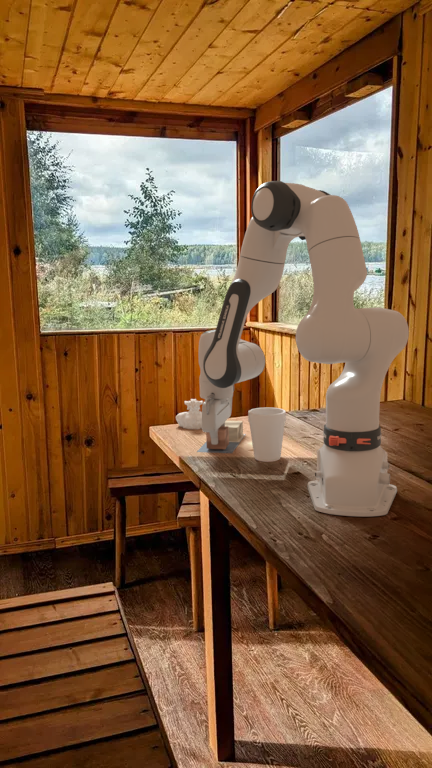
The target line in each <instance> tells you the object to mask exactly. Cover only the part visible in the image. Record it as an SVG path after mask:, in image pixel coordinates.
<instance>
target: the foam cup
mask: <svg viewBox="0 0 432 768" xmlns="http://www.w3.org/2000/svg"><path fill="white" fill-rule="evenodd" d="M247 413H248V414H247V417H248V418H247V419H248V423H249V429H250V431H249V432H250V436H251V443H252V449H253V455H254V459H255V460H256V461H259V462H268V463H271V462H276V461H278V460H280V459H282V458H281V457H282V448H283V440H284V432H285V423H286V417H287V416H286V410H285V409H283V408H279V407H256V408H251V409H249V410H248V412H247Z"/></svg>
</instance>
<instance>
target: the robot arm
mask: <svg viewBox="0 0 432 768" xmlns="http://www.w3.org/2000/svg"><path fill="white" fill-rule="evenodd" d="M250 207H251V208H250V209H251V210H250V211H251V215H252V217H251V218H250V220H249V222H248V225H247V227H246V231H245V233H244V237H243V241H242V245H241V249H240V255H239V258H238V263H237V267H236V271H235V273H234V277H233V279H232V280H231V281H232V282H231V283H230V285H229V287H228V288H227V292H226V294H225V297H224V299H223V303H222V307H221V311H220V313H219V317H218V321H217V324H216V327H215V329H212V330H206V331H205V332H203V333H201V334H200V336H199V341H198V352H197V353H198V365H199V370H200V371H199V372H200V375H199V378H198V379H199V380H198V381H199V382H198V383H199V384H198V385H199V397H200V398H201V399H203V400H204V401H203V404H201V405H202V406H201V412H202V429H201V431H202V432H203V433H206V432H209V433H210V436H211V443H212V444H214V445H217V444H218V443H219V437H218V429H219V428H220V427H221V426H225V421H228V419H229V418H230V417H231V415H232V410H233V397H234V391H235V385H236V384H239V383H241V382H245V381H248V380H252V379H255V378H257V377H258V376H259V375H261V374H262V373H263V372H264V371H265V370H264V369H265V368H266V357H265V356H266V355H265V353H264V350H263V348H261V346H259V344H256V343H255V342H250V341H247V340H244V339H242V335H243V330H244V327H245V323H246V319H247V318H248V315H249V313H250V312H251V310H252V309H253V308H254V307H255V306H256V305H257V304H259V302H261V301H262V300H264V299H265V298H267V297H268V296H270V295H272V293H274V292H275V291H276V290H277V289H278V288H279V284H280V282H281V280H282V277H283V274H284V268H285V264H286V260H287V259H286V258H287V254H288V253H287V252H288V248H289V245H290V243H291V242H292V241H293V240H294V239H296V238H299V239H300V241H306V248H307V253H308V257H309V262H310V263H309V264H310V268H311V275H312V281H313V296H312V302H311V305H310V307H309V309H308V311H307V313H306V314H305V315H304V317H302V319H301V320H300V322H299V323H298V325H297V328H296V330H295V345H296V348H297V350H298V352H299V353H300V355H301V357H302V358H304V360H306V361H308V362H311V363H316V364H326V365H333V364H334V365H335V364H342V363H345V364H344V367H343V370H342V372H341V373H340V375H339V376H338V377H337V378H336V379H335V380H334V381H333V382H332V383H330V385H329V386H328V387H327V388H326V389H327V390H326V393H325V424H324V425H323V431H322V437H323V445H322V446H321V447H319V449H317V451H316V454H317V455H316V458H317V459H316V471H315V472H314V477H315V478H316V479H315V480H310V481H308V483H307V490H308V493H309V497H310V498H311V503H312V505H313V507H314V511H316V512H321V513H324V514H329V515H335V516H346V517H380V516H385V515H388V514H389V510H391V509H390V508H391V506H392V504H393V501H394V499H395V497H396V494H397V492H398V488H397V486H396V485H394V484H390V483H391V474H390V473H388V470H389V469H390V463H389V462H388V452H387V451H386V450H385V449H383V448H382V446H381V445H382V427H381V426H380V407H381V405H380V402H381V393H382V388H383V385H384V380H385V378H386V375H387V372H388V370H389V368H390V366H391V364H392V362H393V361H394V360H395V358H396V357H397V356H398V355H399V354H400V353H401V352H402V351H403V350H404V349H405V348H406V346H407V343H408V341H409V338H410V337H409V335H410V332H409V331H410V330H409V326H408V321H407V319H406V318H405V316H404V315H403V314H402V313H400V311H397V310H394V309H389V308H384V307H365V308H364V307H363V308H361V307H360V308H356V307H355V305H354V294H355V291H357V290H358V289H360V287H362V286H363V284H364V283H365V281H366V279H367V276H368V269H367V265H366V260H365V255H364V252H363V246H362V242H361V238H360V233H359V230H358V226H357V223H356V221H355V218H354V216H353V213H352V211H351V208H350V205H349V204H348V202H347V201H346V199H344V198H343V197H341V196H339V195H335V194H330V193H329V192H327V191H325V190H318V189H315V188H312V187H310V186H306V185H304V184H299V183H296V182H295V183H294V182H284V181H281V180H271V181H266V182H263V183H262V184H260V185H259V186H258V188H257V189H256V190H255V192H254V194H253V196H252V198H251V206H250Z"/></svg>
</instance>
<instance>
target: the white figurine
mask: <svg viewBox="0 0 432 768" xmlns="http://www.w3.org/2000/svg"><path fill="white" fill-rule="evenodd" d="M183 403H184V405H186V407H187V408H186V410H188V411H183V412H180V413H177V415H176V416H175V420H176V422H177V424H178V426H179V427H180V428H183V429H186V430H200V429H201V430H202V411H201V405H203V403H204V400H197V398H190V400H184V402H183Z"/></svg>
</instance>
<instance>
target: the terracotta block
mask: <svg viewBox="0 0 432 768" xmlns="http://www.w3.org/2000/svg"><path fill="white" fill-rule="evenodd" d="M205 434H206V441H207V449H226V448H227V446H228V445H229V427H228V426H221V427H220V428H219V429H218V437H219V443H218V444H217V445H214V444H212V443H211V436H210V433H209V432H205Z"/></svg>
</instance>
